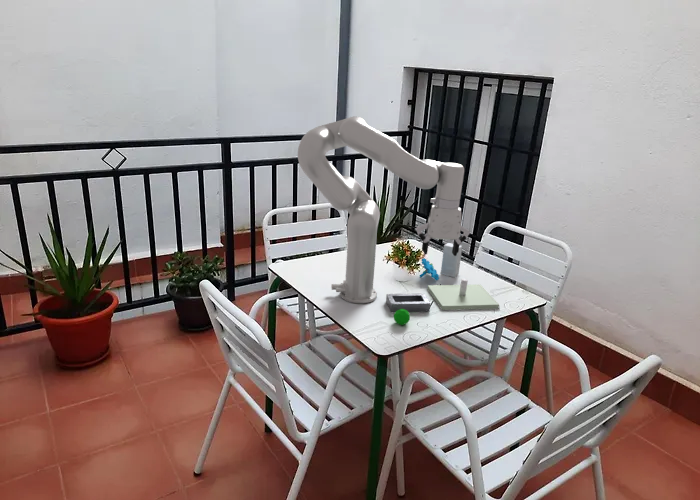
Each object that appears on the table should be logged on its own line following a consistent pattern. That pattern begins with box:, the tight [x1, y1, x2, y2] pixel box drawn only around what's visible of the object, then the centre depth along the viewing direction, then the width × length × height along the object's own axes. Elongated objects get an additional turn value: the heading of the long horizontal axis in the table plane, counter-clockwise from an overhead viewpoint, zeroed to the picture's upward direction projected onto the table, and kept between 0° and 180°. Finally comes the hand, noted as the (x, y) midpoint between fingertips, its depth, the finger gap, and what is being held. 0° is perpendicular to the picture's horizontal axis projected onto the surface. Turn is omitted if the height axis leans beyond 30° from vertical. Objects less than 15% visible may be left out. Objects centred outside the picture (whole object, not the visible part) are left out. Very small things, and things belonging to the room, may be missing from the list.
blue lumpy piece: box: [419, 257, 440, 281], centre depth 187 cm, size 11×6×10 cm
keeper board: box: [427, 278, 500, 311], centre depth 170 cm, size 20×16×7 cm
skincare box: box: [440, 242, 463, 278], centre depth 189 cm, size 6×4×12 cm
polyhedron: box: [393, 309, 411, 326], centre depth 152 cm, size 5×5×5 cm
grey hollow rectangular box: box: [385, 292, 432, 314], centre depth 163 cm, size 13×7×3 cm, turn 99°
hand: (439, 253), depth 160 cm, fingers open, 9 cm apart
